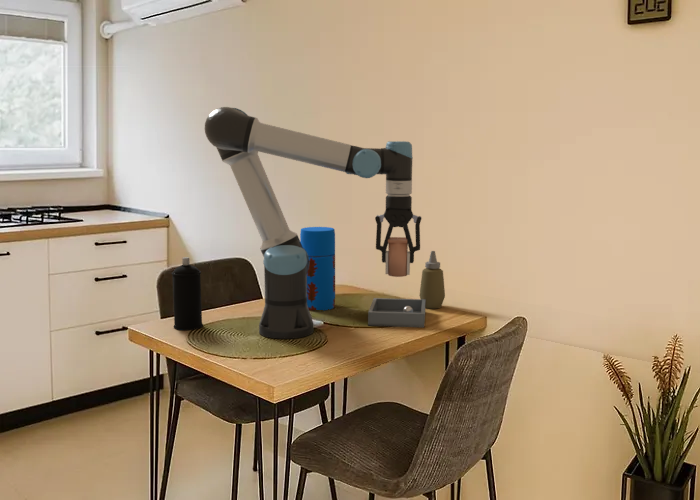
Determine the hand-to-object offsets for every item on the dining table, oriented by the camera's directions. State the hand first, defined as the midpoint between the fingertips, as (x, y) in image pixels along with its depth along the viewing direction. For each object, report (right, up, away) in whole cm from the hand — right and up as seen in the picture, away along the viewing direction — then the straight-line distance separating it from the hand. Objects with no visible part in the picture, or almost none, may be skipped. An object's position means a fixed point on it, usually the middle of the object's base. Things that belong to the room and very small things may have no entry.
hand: (397, 273), depth 213 cm
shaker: (0, 0, 0) cm, 0 cm away
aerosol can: (-60, -15, -6) cm, 63 cm away
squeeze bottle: (+12, -11, +17) cm, 24 cm away
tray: (0, -13, +2) cm, 14 cm away
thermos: (-24, -11, +17) cm, 32 cm away
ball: (+3, -11, +3) cm, 12 cm away
